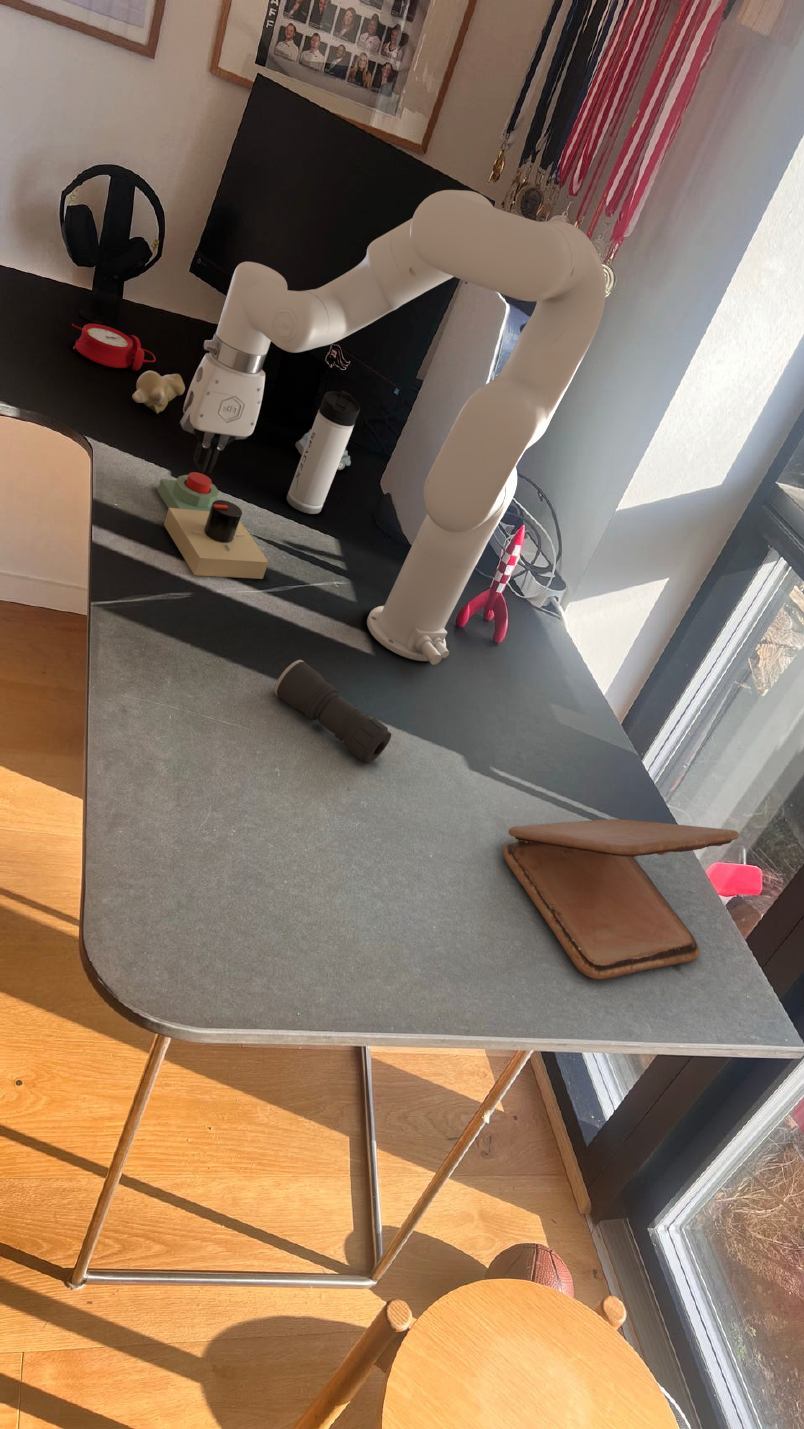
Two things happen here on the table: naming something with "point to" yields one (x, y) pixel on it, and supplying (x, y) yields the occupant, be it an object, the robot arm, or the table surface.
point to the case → (607, 890)
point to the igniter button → (198, 482)
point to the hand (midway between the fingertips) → (202, 467)
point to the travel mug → (323, 452)
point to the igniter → (185, 495)
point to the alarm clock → (110, 347)
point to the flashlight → (332, 711)
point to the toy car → (302, 443)
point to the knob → (222, 521)
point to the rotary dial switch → (214, 547)
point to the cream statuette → (157, 389)
